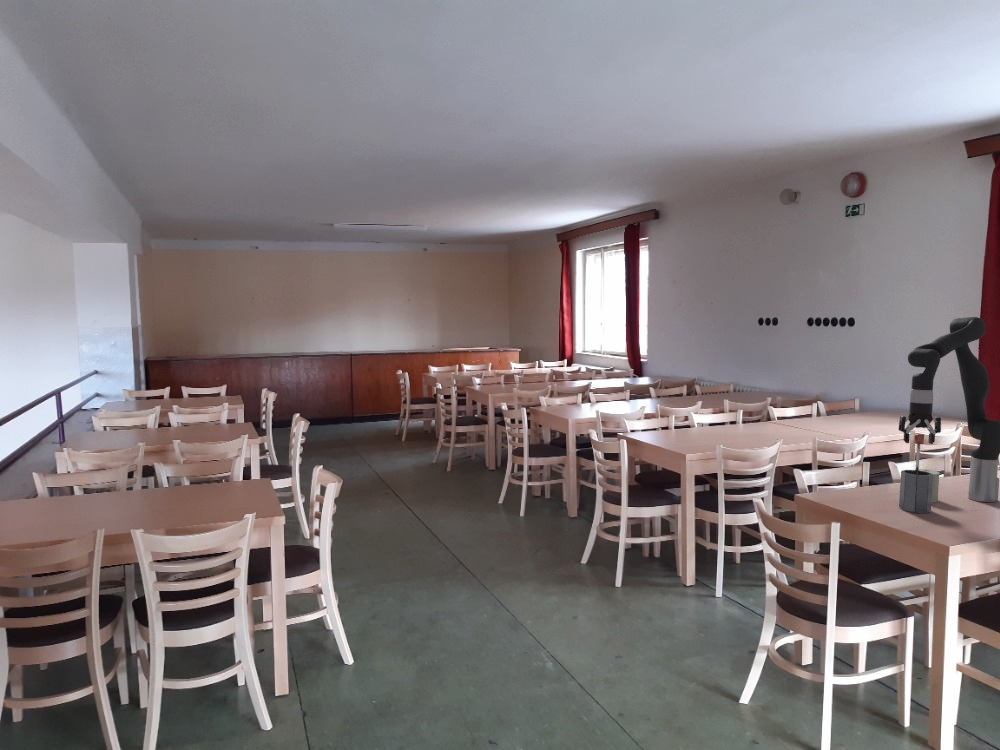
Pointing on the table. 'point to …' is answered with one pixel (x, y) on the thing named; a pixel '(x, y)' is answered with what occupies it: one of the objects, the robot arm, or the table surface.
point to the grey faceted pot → (916, 491)
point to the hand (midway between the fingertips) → (918, 443)
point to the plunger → (918, 448)
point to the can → (934, 484)
